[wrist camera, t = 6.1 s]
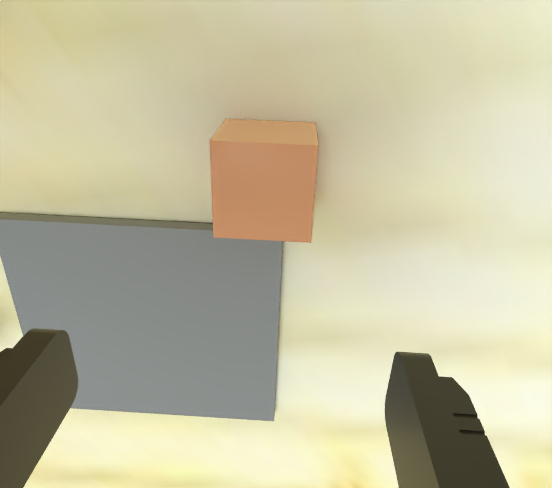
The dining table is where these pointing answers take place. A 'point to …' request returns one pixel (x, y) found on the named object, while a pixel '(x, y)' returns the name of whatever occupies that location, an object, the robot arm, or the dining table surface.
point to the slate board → (152, 311)
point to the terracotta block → (264, 179)
